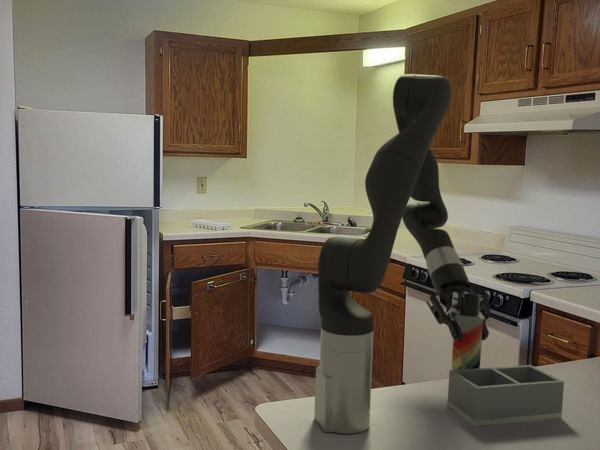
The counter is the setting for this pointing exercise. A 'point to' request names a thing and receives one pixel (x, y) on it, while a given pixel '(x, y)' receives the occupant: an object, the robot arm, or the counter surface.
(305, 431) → the counter surface
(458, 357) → the lotion bottle
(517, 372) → the box
